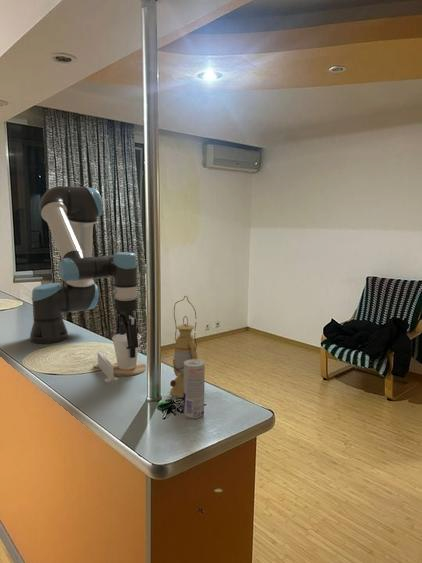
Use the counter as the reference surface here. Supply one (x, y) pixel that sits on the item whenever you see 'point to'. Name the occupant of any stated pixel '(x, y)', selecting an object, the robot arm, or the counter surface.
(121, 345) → the cup
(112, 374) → the acrylic wall
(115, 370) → the cork coaster
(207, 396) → the counter surface
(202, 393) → the beverage can
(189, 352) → the lantern
